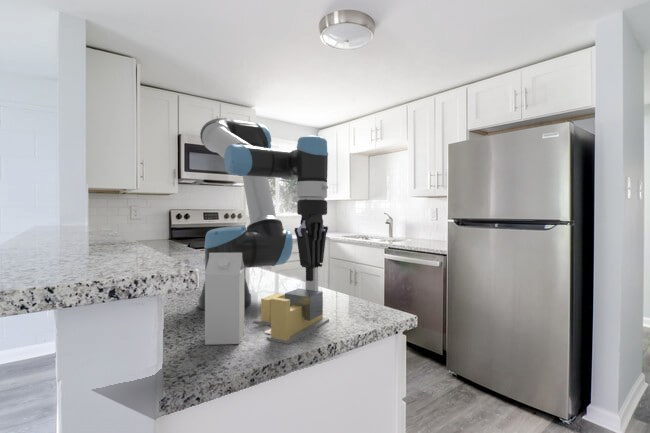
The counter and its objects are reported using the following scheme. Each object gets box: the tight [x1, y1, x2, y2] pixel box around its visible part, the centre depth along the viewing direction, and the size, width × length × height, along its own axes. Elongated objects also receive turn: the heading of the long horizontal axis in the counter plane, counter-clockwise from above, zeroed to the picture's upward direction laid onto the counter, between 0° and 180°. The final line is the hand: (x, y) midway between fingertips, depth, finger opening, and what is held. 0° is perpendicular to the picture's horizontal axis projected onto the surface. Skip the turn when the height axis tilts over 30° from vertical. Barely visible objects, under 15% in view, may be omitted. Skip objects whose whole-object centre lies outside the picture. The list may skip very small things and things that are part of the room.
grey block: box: [284, 288, 324, 321], centre depth 83 cm, size 7×6×6 cm
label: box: [263, 328, 271, 335], centre depth 81 cm, size 3×6×1 cm, turn 151°
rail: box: [266, 297, 330, 345], centre depth 82 cm, size 6×18×9 cm, turn 151°
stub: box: [252, 292, 285, 327], centre depth 89 cm, size 6×9×6 cm, turn 151°
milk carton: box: [204, 253, 245, 346], centre depth 75 cm, size 7×7×19 cm
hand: (311, 292), depth 86 cm, fingers closed
